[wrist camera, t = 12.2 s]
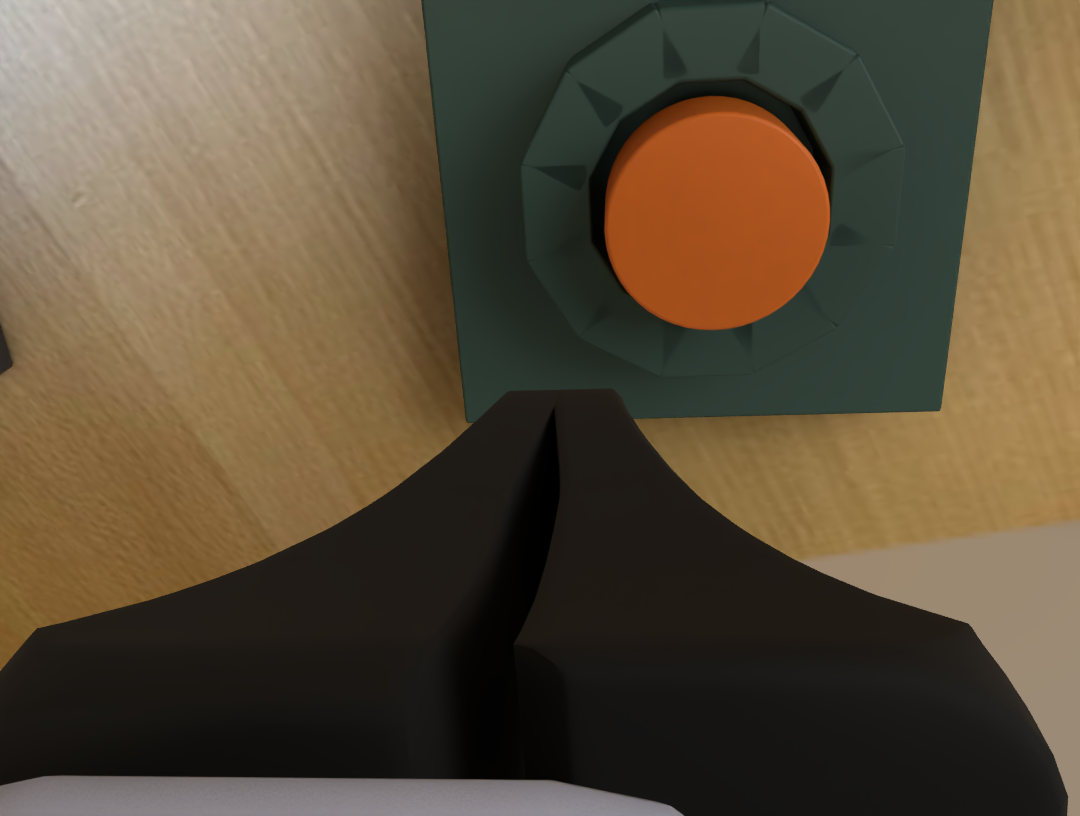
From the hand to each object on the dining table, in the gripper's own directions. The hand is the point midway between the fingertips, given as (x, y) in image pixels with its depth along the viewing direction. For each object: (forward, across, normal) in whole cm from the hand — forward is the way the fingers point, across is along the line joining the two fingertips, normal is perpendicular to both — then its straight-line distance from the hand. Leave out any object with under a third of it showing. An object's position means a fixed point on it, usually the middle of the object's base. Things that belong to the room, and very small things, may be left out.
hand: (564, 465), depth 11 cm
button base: (+10, -2, -1) cm, 11 cm away
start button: (+7, -2, -1) cm, 8 cm away
